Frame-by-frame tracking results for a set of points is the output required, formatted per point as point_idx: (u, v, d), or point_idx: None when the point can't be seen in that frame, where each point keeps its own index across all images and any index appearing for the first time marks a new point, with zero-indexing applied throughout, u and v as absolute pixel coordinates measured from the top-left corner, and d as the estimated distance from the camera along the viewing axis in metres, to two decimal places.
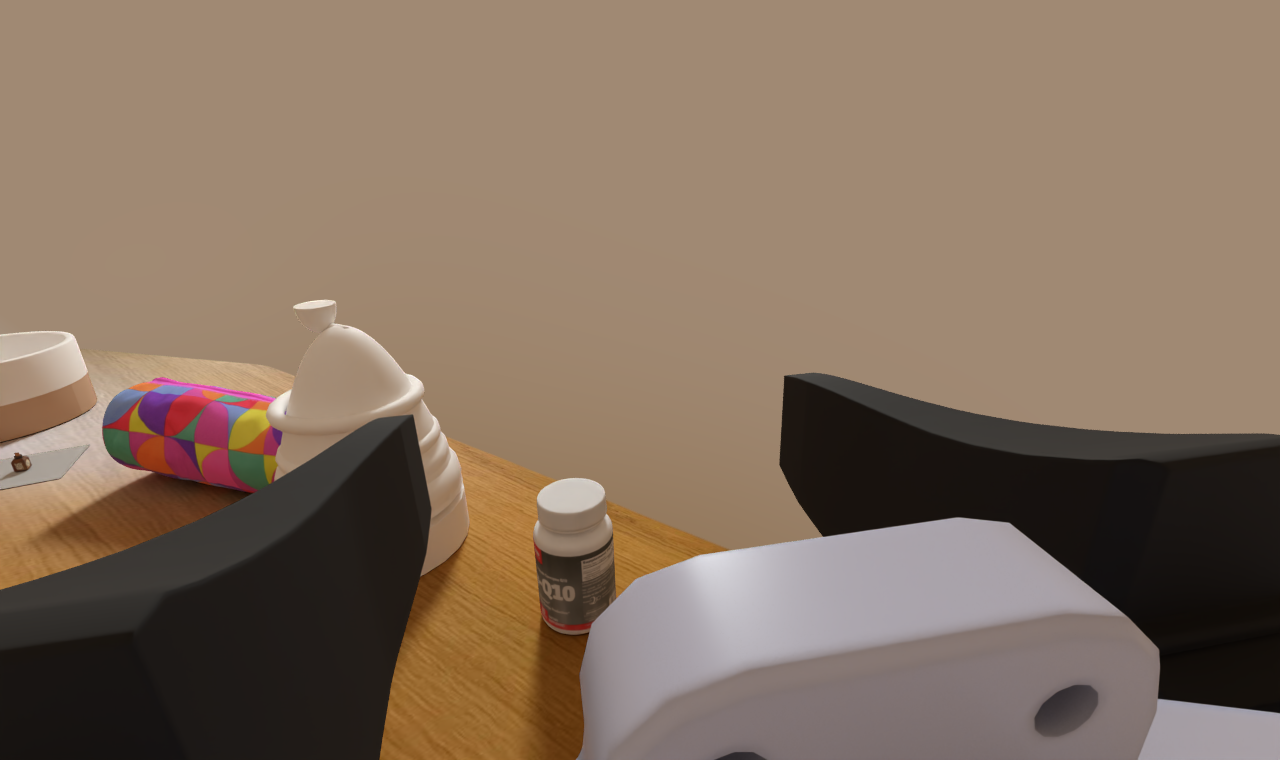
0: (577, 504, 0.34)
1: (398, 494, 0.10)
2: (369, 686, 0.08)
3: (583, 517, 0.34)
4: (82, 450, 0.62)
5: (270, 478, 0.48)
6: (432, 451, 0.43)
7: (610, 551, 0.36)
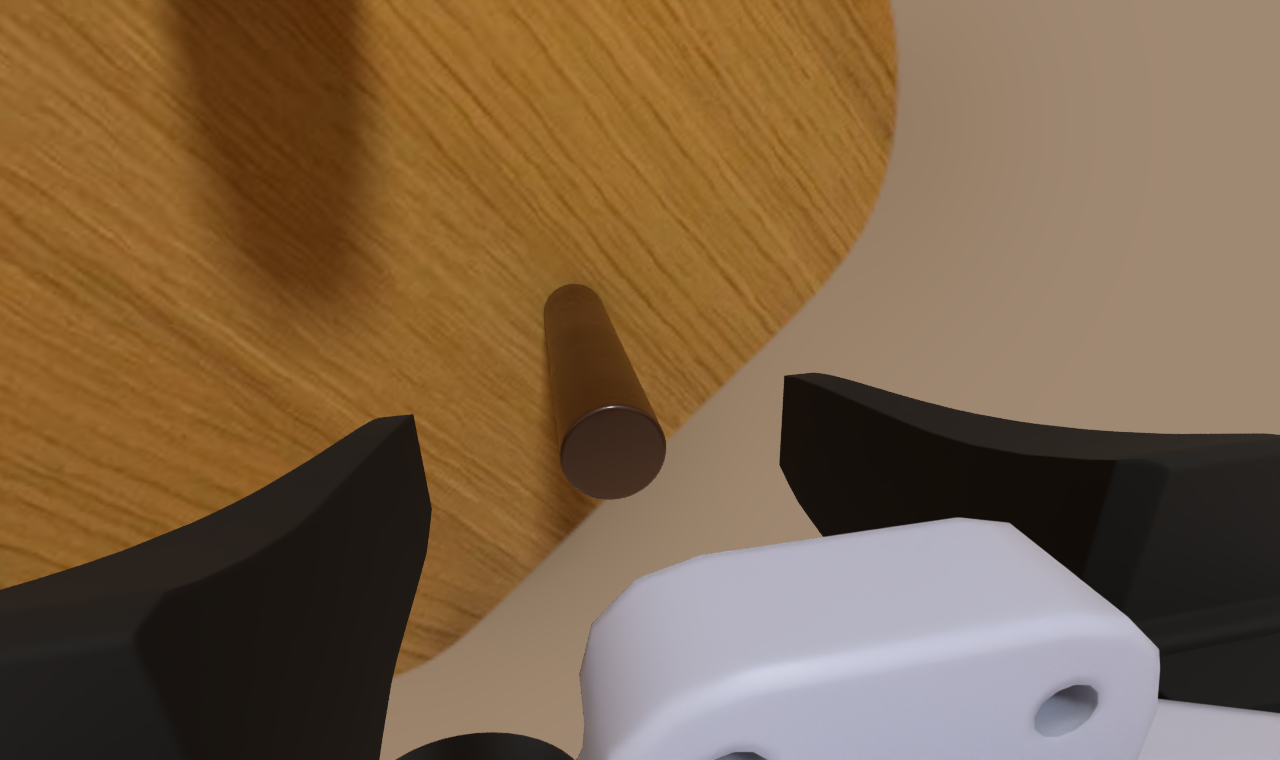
0: None
1: (398, 494, 0.10)
2: (369, 686, 0.08)
3: None
4: None
5: None
6: None
7: None
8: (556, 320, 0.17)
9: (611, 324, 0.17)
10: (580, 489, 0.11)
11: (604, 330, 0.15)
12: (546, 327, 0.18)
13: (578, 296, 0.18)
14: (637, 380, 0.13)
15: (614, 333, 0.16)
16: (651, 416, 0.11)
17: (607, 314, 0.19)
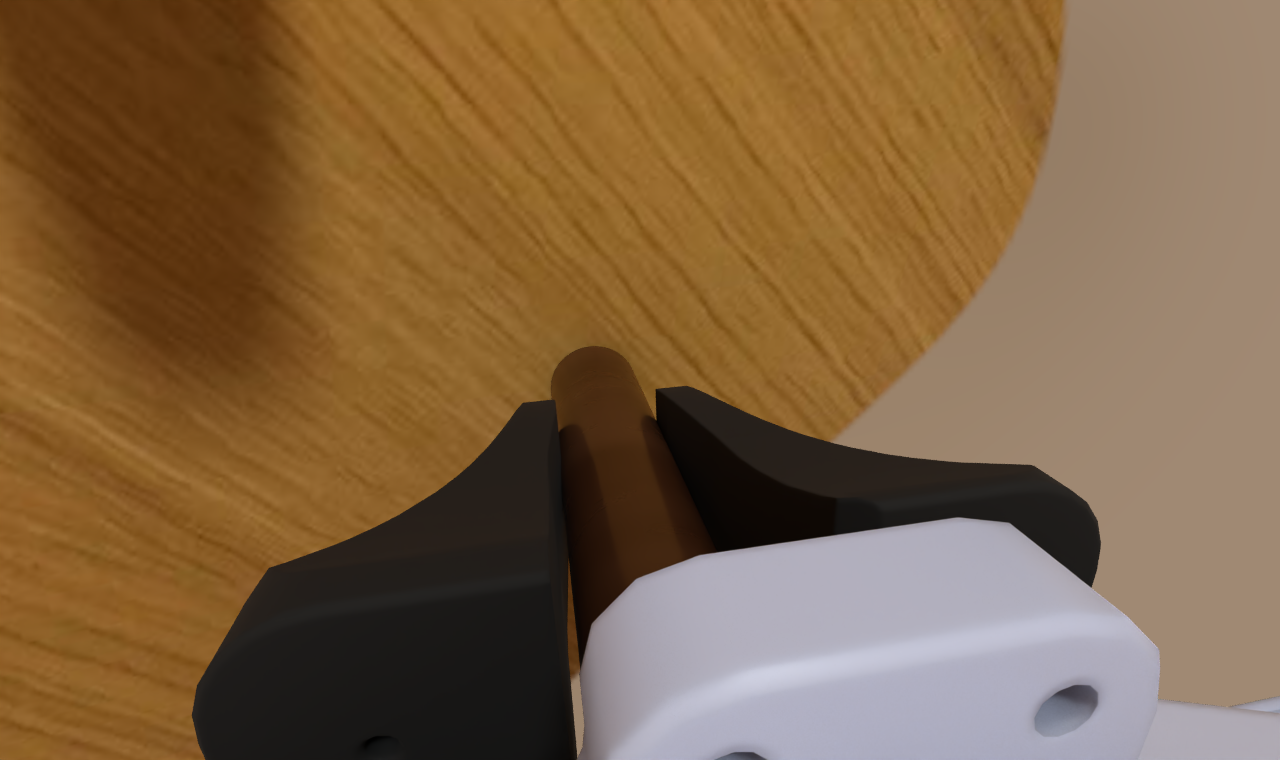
0: None
1: (559, 475, 0.10)
2: None
3: None
4: None
5: None
6: None
7: None
8: (572, 419, 0.11)
9: (656, 423, 0.11)
10: None
11: (652, 451, 0.10)
12: None
13: (602, 372, 0.12)
14: None
15: (665, 448, 0.10)
16: None
17: (645, 398, 0.13)
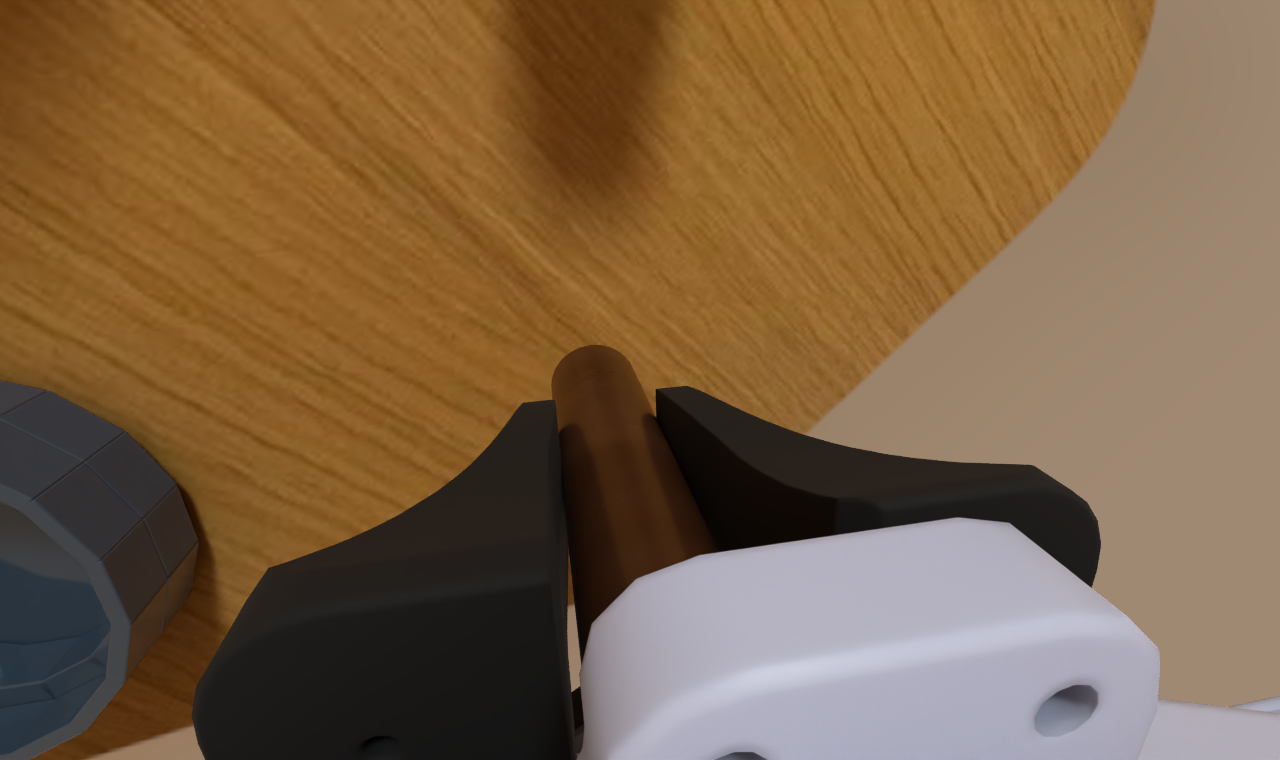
0: None
1: (559, 474, 0.10)
2: None
3: None
4: None
5: None
6: None
7: None
8: (572, 417, 0.11)
9: (656, 422, 0.11)
10: None
11: (653, 449, 0.10)
12: None
13: (603, 370, 0.12)
14: None
15: (666, 447, 0.10)
16: None
17: (645, 396, 0.13)
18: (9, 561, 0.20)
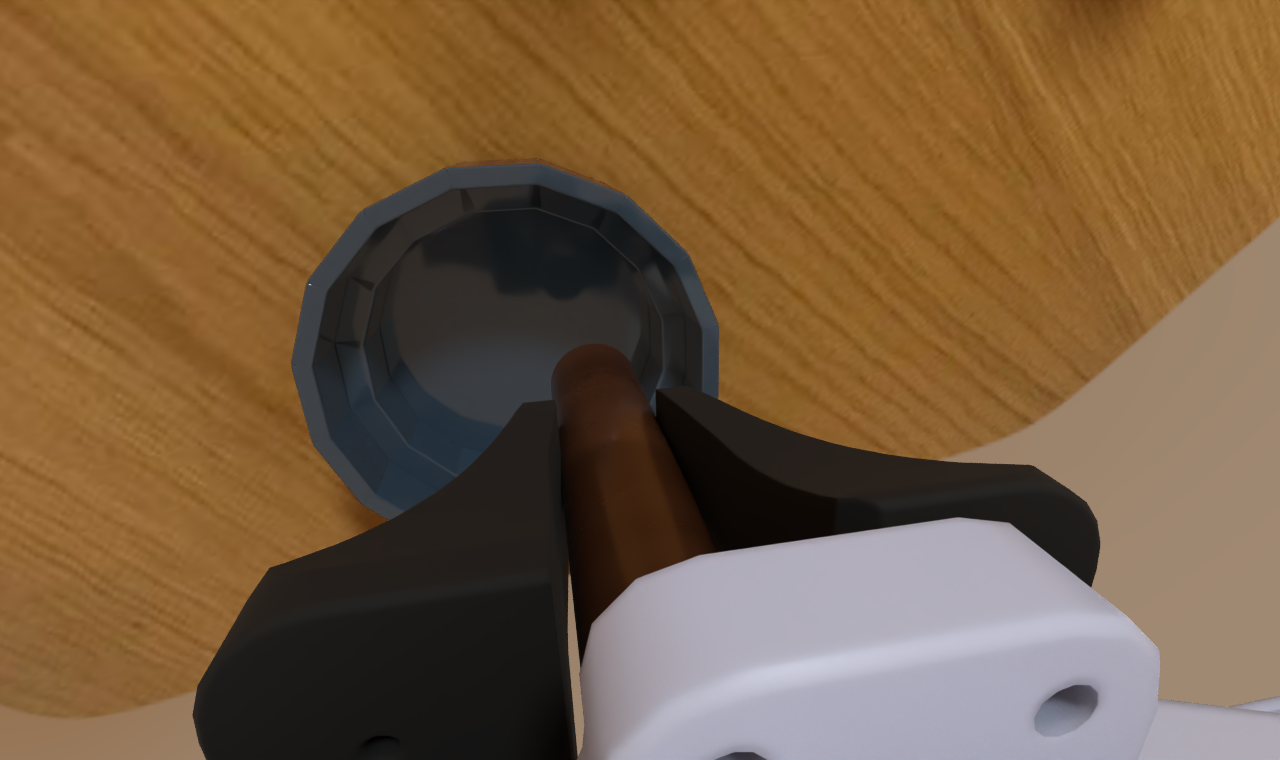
0: None
1: (559, 474, 0.10)
2: (567, 653, 0.08)
3: None
4: None
5: None
6: None
7: None
8: (572, 415, 0.11)
9: (656, 420, 0.11)
10: None
11: (653, 447, 0.09)
12: None
13: (602, 368, 0.12)
14: None
15: (665, 445, 0.10)
16: None
17: None
18: (522, 367, 0.20)
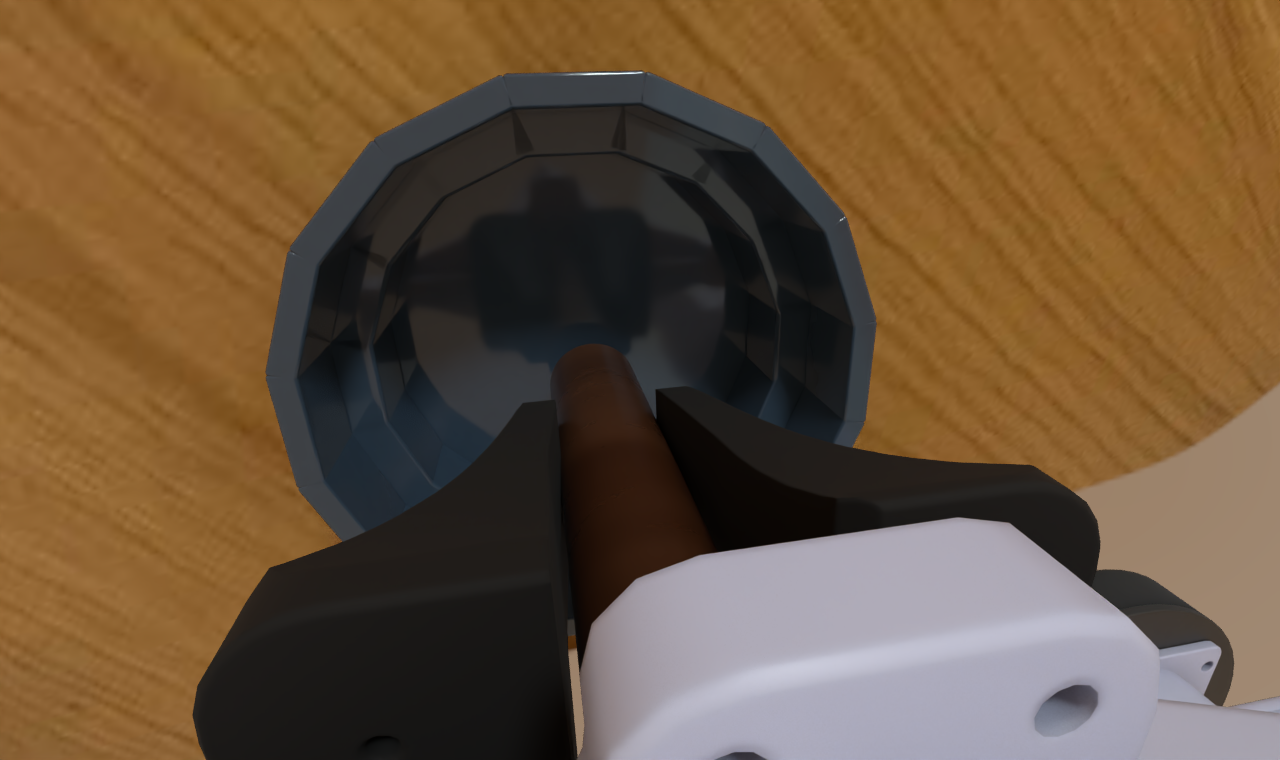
0: None
1: (559, 474, 0.10)
2: (567, 653, 0.08)
3: None
4: None
5: None
6: None
7: None
8: (571, 415, 0.11)
9: (655, 420, 0.11)
10: None
11: (651, 447, 0.09)
12: None
13: (601, 369, 0.12)
14: None
15: (664, 445, 0.10)
16: None
17: (644, 395, 0.13)
18: None
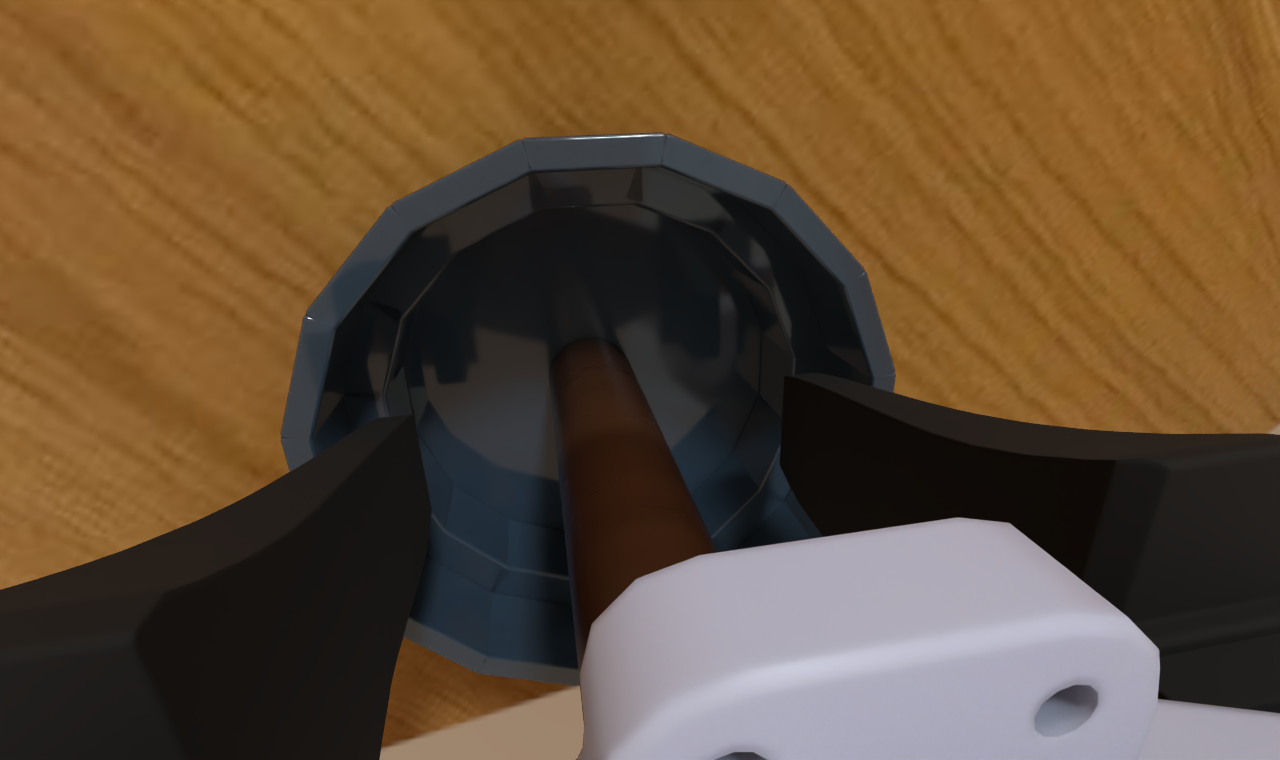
0: None
1: (398, 494, 0.10)
2: (369, 686, 0.08)
3: None
4: None
5: None
6: None
7: None
8: (569, 407, 0.11)
9: (651, 412, 0.11)
10: None
11: (647, 437, 0.10)
12: (553, 410, 0.12)
13: (599, 362, 0.13)
14: None
15: (660, 435, 0.10)
16: None
17: (641, 388, 0.13)
18: None
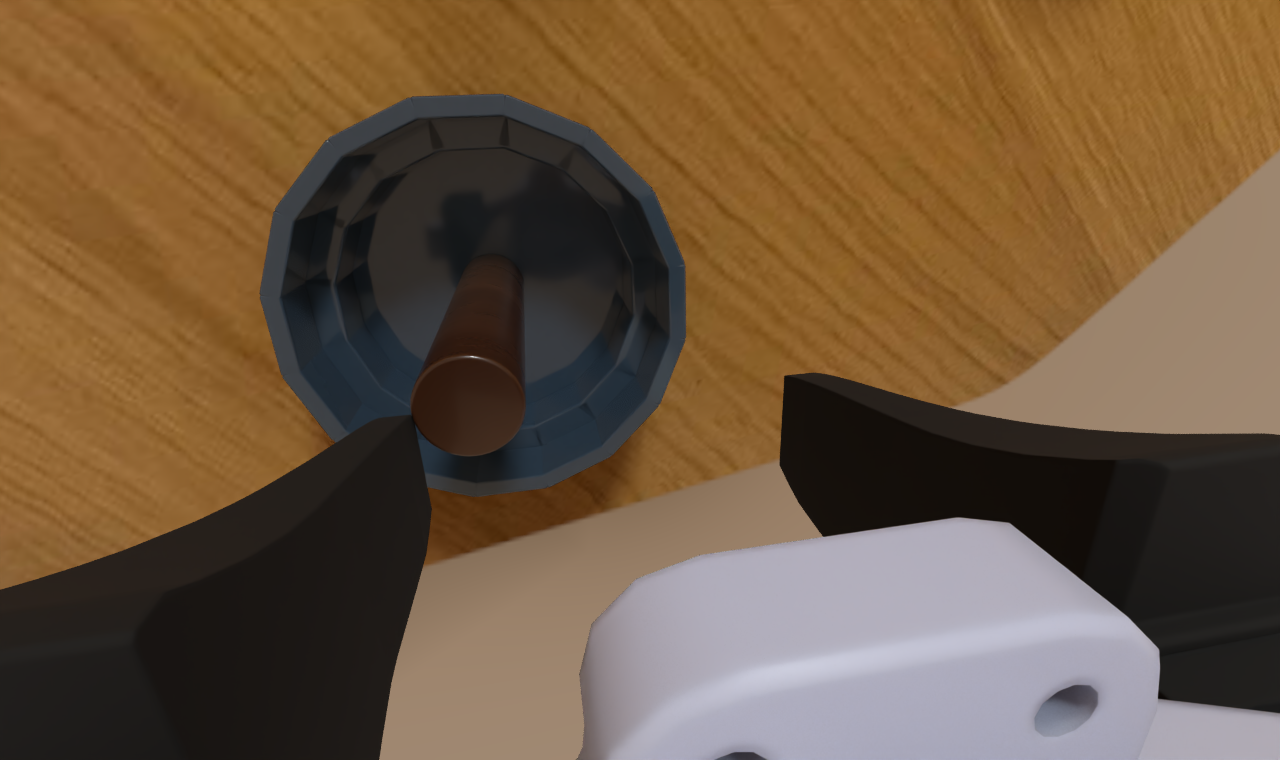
0: None
1: (398, 494, 0.10)
2: (369, 686, 0.08)
3: None
4: None
5: None
6: None
7: None
8: (459, 286, 0.17)
9: (516, 290, 0.17)
10: (435, 445, 0.11)
11: (498, 293, 0.15)
12: None
13: (488, 264, 0.18)
14: (513, 338, 0.13)
15: (513, 297, 0.16)
16: (506, 368, 0.11)
17: (519, 283, 0.18)
18: None
